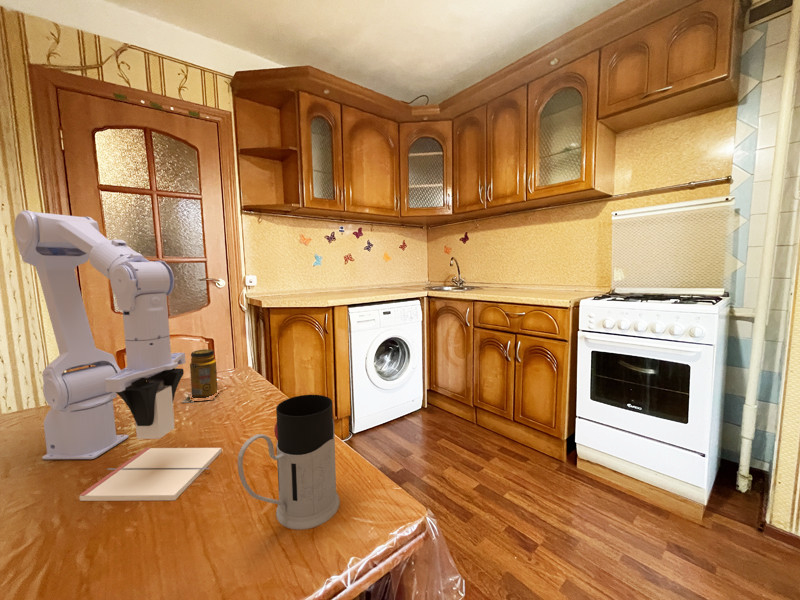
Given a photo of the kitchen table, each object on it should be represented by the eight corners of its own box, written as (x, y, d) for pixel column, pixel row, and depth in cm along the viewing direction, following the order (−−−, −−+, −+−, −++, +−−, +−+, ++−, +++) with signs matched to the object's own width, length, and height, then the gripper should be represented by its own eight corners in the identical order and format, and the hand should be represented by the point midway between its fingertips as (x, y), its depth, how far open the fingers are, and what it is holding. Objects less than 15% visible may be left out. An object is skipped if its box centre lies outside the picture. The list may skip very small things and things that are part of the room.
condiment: (222, 389, 95) (220, 347, 94) (213, 401, 87) (210, 355, 85) (194, 391, 93) (191, 349, 92) (181, 403, 85) (178, 357, 84)
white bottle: (136, 438, 54) (132, 386, 53) (153, 428, 57) (149, 378, 56) (159, 438, 54) (155, 386, 53) (174, 428, 57) (170, 378, 56)
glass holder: (352, 499, 49) (349, 400, 48) (266, 572, 38) (259, 445, 36) (311, 479, 54) (308, 388, 53) (224, 538, 43) (216, 424, 41)
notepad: (69, 500, 50) (69, 495, 49) (138, 452, 62) (137, 447, 62) (184, 500, 49) (184, 494, 49) (229, 451, 62) (229, 447, 62)
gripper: (137, 347, 47) (145, 441, 48) (199, 328, 61) (204, 401, 62) (86, 348, 47) (96, 442, 48) (161, 329, 61) (166, 401, 62)
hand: (154, 419), depth 55 cm, fingers closed on white bottle, 4 cm apart
